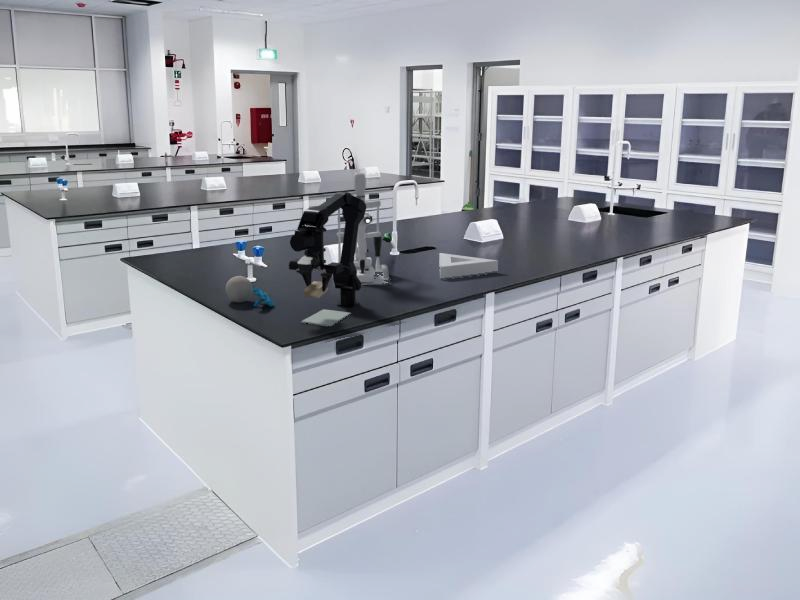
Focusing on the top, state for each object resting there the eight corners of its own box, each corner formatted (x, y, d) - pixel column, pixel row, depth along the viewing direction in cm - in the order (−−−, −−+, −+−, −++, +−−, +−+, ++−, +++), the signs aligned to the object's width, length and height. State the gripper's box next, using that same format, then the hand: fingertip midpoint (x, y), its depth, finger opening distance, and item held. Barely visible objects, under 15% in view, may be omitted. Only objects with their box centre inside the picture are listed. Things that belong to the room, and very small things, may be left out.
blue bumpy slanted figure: (273, 306, 251) (253, 286, 250) (261, 317, 252) (241, 298, 251) (278, 302, 262) (258, 283, 261) (267, 313, 263) (247, 294, 262)
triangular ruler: (439, 266, 328) (439, 252, 327) (494, 267, 327) (495, 253, 326) (440, 281, 299) (440, 266, 298) (500, 282, 298) (501, 267, 297)
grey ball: (227, 306, 256) (225, 280, 254) (225, 299, 266) (224, 273, 263) (254, 304, 259) (253, 278, 256) (252, 297, 268) (251, 272, 266)
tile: (304, 296, 236) (304, 288, 236) (314, 289, 246) (314, 281, 245) (318, 297, 235) (318, 289, 235) (327, 290, 245) (327, 282, 244)
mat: (323, 310, 252) (323, 309, 252) (350, 314, 248) (350, 312, 248) (301, 322, 237) (301, 321, 237) (330, 326, 234) (330, 325, 233)
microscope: (334, 287, 285) (332, 176, 273) (331, 272, 311) (329, 170, 299) (392, 286, 288) (393, 176, 276) (385, 271, 314) (385, 170, 302)
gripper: (278, 248, 233) (280, 293, 237) (327, 253, 225) (328, 299, 230) (296, 242, 242) (298, 285, 247) (343, 246, 235) (344, 291, 239)
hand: (316, 290), depth 240 cm, fingers closed on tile, 5 cm apart
